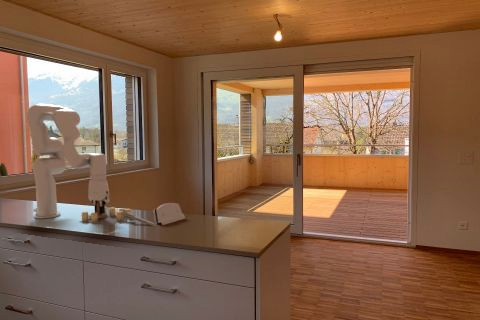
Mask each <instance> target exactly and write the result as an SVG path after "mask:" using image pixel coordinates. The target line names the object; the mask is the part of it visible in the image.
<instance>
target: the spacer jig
mask: <svg viewBox="0 0 480 320" xmlns="http://www.w3.org/2000/svg"><path fill="white" fill-rule="evenodd" d="M124 210H125V211H126V210H127V212H128V213H130V214H132V209H131V208H125V207H124V208H123V207H121V208H118V211H116V207H113V206H112V207H109V214H108V212H107V206H105V213H103V215H106V218H98V215H97V213H95V212H91V213H90V214H91V219H88V214H89V211H82V212H81V220H80V221H79V223H85V224H92V225H93V224H94V225H101V226H113V225H115V224H116V225H117V224H119V223H121V222H126V221H125V217H124V221H122V212H123V211H124ZM128 220H130V219H129V218H128V219H127V221H128Z"/></svg>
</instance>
